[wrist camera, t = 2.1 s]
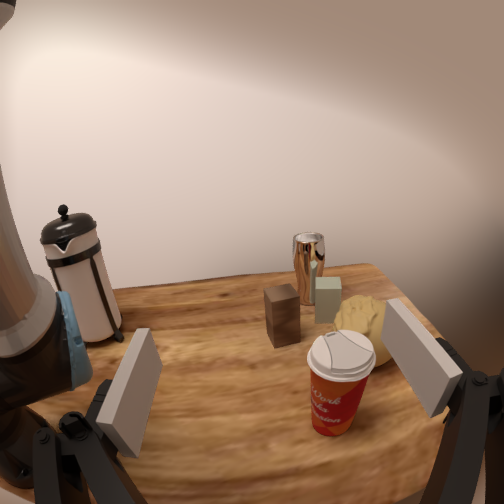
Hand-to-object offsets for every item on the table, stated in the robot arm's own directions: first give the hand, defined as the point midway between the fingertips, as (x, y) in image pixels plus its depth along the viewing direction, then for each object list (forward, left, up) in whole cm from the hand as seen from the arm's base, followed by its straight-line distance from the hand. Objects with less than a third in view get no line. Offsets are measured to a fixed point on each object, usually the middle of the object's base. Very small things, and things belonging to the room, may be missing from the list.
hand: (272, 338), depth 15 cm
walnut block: (+4, +31, -25) cm, 40 cm away
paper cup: (+8, +10, -25) cm, 28 cm away
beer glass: (+12, +44, -25) cm, 52 cm away
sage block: (+14, +36, -25) cm, 46 cm away
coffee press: (-37, +37, -25) cm, 58 cm away
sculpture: (+17, +23, -25) cm, 38 cm away
